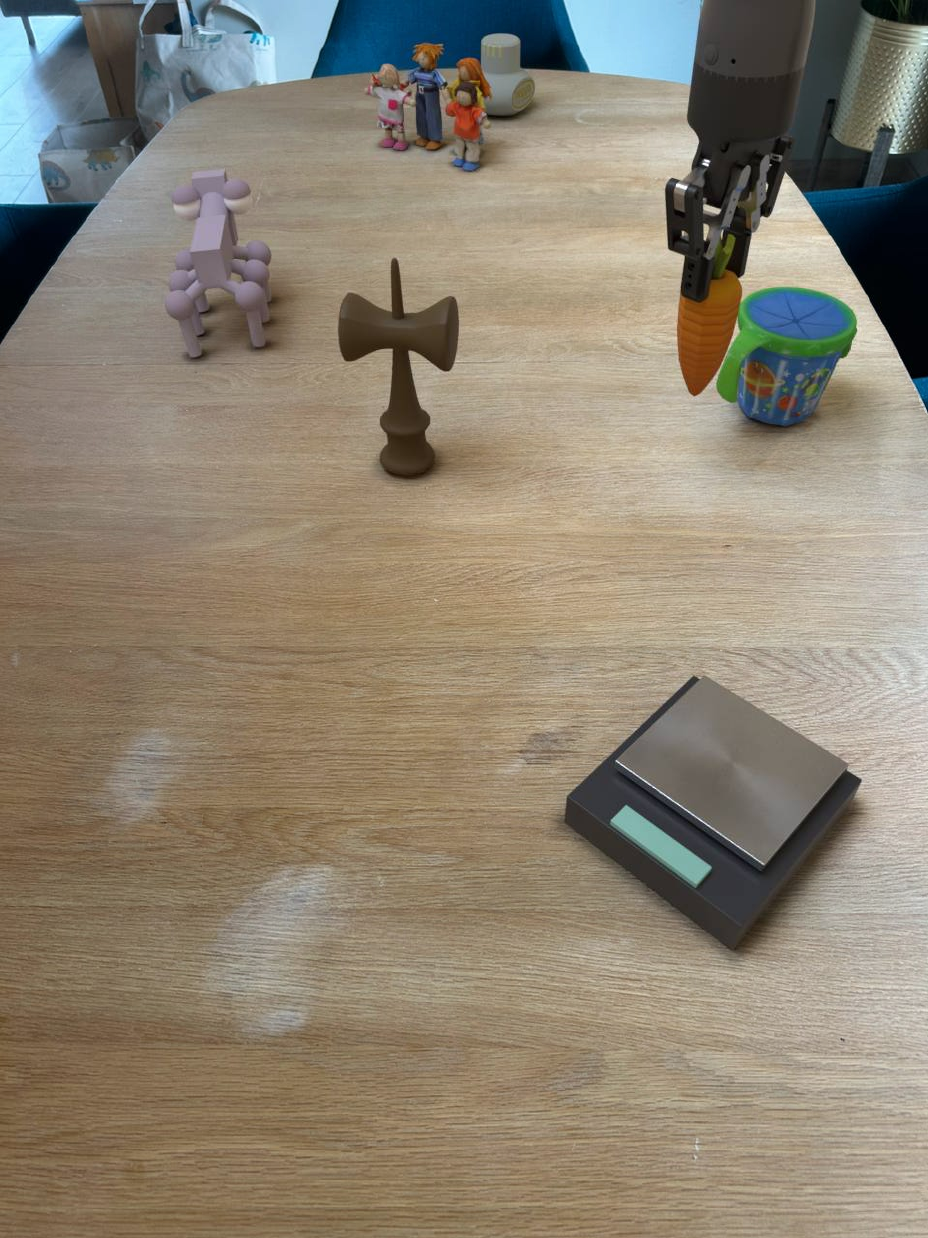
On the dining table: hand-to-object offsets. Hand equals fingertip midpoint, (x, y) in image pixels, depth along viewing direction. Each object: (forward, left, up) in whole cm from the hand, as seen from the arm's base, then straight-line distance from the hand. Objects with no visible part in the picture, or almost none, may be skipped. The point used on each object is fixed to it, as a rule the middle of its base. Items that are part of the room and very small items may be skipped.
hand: (712, 285), depth 81 cm
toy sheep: (+12, -53, -17) cm, 57 cm away
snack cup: (-13, +2, -17) cm, 22 cm away
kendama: (+18, -18, -17) cm, 31 cm away
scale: (+31, +24, -17) cm, 43 cm away
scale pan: (+30, +24, -14) cm, 40 cm away
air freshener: (-55, -73, -17) cm, 93 cm away
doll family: (-38, -69, -17) cm, 81 cm away
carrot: (0, 0, -11) cm, 11 cm away
